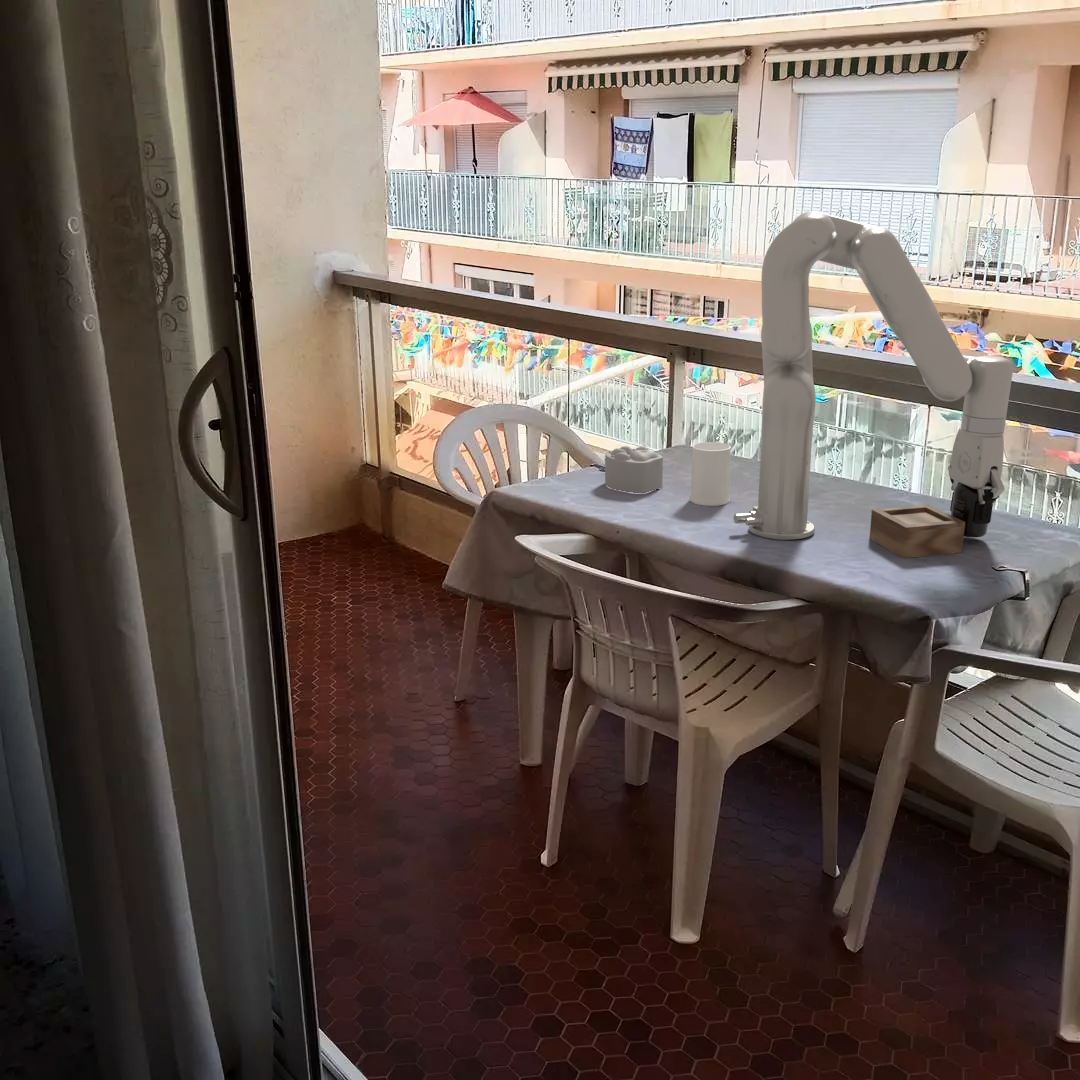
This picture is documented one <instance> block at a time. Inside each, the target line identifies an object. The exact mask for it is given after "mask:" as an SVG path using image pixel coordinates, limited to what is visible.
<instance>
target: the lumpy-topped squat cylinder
mask: <svg viewBox="0 0 1080 1080" xmlns="http://www.w3.org/2000/svg"><path fill="white" fill-rule="evenodd" d="M663 467H664V458H663V455H661V454H659V453H656V452H655V451H653V450H650V449H649V448H648V447H647V446H645V445H641V446H638V447H636V448H631V447H630V446H628V445H624V446H621V447H620V448H618V447H617V448H614V449H613V450H609V451H607V452H606V453H605V455H604V485H605V484H606V485H607V486H608V487H610V488H612V489H616V490H621V491H626V492H633V493H646V492H649V491H652V490H655V489H659V488H661V487H662V488H663V473H664V471H663V470H664V469H663ZM662 488H661V489H662ZM659 490H660V489H659ZM655 491H656V490H655ZM652 492H653V491H652Z"/></svg>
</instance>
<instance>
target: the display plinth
mask: <svg viewBox="0 0 1080 1080" xmlns="http://www.w3.org/2000/svg"><path fill="white" fill-rule="evenodd" d="M964 529H965V522H964V521H962V520H960V519H958V518H955V517H953V516H951V514H950V513H947V512H945V511H944V510H941V509H939V508H936V507H934V506H933V505H930V504H919V505H918V504H917V505H909V506H908V505H905V506H898V507H886V508H885V507H884V508H873V509H871V515H870V528H869V538H868V539H870V540H871V541H873V542H875V543H876V544H879V545H880V546H882V547H883V548H885V549H887V550H888V551H890V552H891V553H894V554H895V555H897V556H898V557H900V558H902V559H908V558H917V557H928V556H929V557H930V556H938V555H939V556H941V555H948V554H959V553H963V547H964V546H963V545H964Z"/></svg>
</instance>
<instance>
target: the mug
mask: <svg viewBox="0 0 1080 1080" xmlns="http://www.w3.org/2000/svg"><path fill="white" fill-rule="evenodd" d="M731 450H732V446H731V445H729V444H728V443H724V442H716V441H712V442H711V441H705V442H703V441H702V442H698V443H697V442H696V443H695V444H693V445H692V450H691V451H692V452H691V453H692V456H691V457H692V459H691V484H690V485H691V489H690V490H691V491H690V496H689V501H690V502H691V503H692V502H693V504H695V505H697V506H698V505H699V506H704V507H705V506H707V507H708V506H709V507H719V506H724V505H727V504H729V503H730V501H731V497H730V480H731V479H730V477H731V456H732V455H731V453H732V451H731Z"/></svg>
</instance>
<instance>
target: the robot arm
mask: <svg viewBox="0 0 1080 1080" xmlns="http://www.w3.org/2000/svg"><path fill="white" fill-rule="evenodd" d="M817 261H820V262H823V263H826V264H827V263H828V264H831V265H835V266H838V267H839V266H840V267H843V268H846V269H852V270H856V272H857V274H858V275H859V277H860V279H861V281H862V283H863V284H864V285H865V287H866V289H867V291H868V292H869V295H870V296H871V297H872V299H873V301H874V303H875V304H876V306H877V308H878V310H879V311H880V313H881V315H882V317H883V319H884V321H885V322H886V324H887V325H888V326H889V328H890V329H891V331H892V333H893V334H894V335H895V337H896V338H897V339H898V340H899V341H900V343H901V344H902V345H903V347H904V348H905V350H906V351H907V353H908V355H909V357H910V358H911V359H912V361H913V363H914V365H915V367H917V368H916V369H918V371H919V373H920V375H921V376H922V382H924V384H925V386H926V387H927V389H928V390H929V392H931V394H932V395H933V396H934V397H935V398H937V399H938V400H940V401H944V402H956V401H958V400H960V399H962V398H963V397H964V399H963V400H964V401H963V407H962V416H961V423H960V427H959V428H958V431H957V433H956V436H955V438H954V442H953V446H952V451H951V456H950V461H949V465H948V466H947V470H948V476H949V479H950V483H951V487H950V489H951V491H952V492H951V500H950V512H951V509H952V502H953V495H954V489H955V487H956V486H957V485H958V484H959V483H961V484H964V485H966V486H968V487H970V488H973V489H977V491H978V498H979V503H976V508H975V515H974V523H975V524H987V523H988V524H990V523H991V521H992V514H993V513H992V512H993V507H994V504H996V502H997V499H998V498H1000V496H1001V494H1003V492H1005V489H1006V488H1005V485H1004V484H1003V482H1002V479H1001V478H1002V474H1003V473H1002V472H1003V467H1004V466H1003V464H1004V450H1005V448H1004V447H1005V445H1004V434H1005V427H1006V421H1007V415H1008V414H1007V413H1008V408H1009V407H1008V406H1009V400H1010V392H1011V387H1012V381H1013V373H1014V364H1013V362H1012V361H1011V359H1009V358H1006V357H1001V356H993V355H979V356H971V355H964V354H962V353H961V351H960V349H959V347H958V345H957V344H956V342H955V340H954V339H953V337H952V335H951V334H950V332H949V330H948V328H947V327H946V325H945V323H944V322H943V319H942V318H941V316H940V313H939V311H938V309H937V307H936V305H935V303H934V301H933V300H932V298H931V296H930V294H929V292H928V291H927V289H926V287H925V285H924V284H923V282H922V281H921V278H920V276H919V275H918V273H917V272H916V270H915V268H914V267H913V265H912V263H911V261H910V259H909V258H908V256H907V255H906V253H905V251H904V249H903V247H902V246H901V244H900V242H899V240H898V239H897V237H896V236H895V234H893V233H892V231H890V230H888V229H886V228H884V227H883V226H882V227H881V226H878V225H872V224H867V223H863V222H859V221H854V220H850V219H847V218H843V217H839V216H835V215H831V214H828V213H824V212H821V211H815V210H810V211H807V212H803V213H802V214H799V215H798V216H797V217H796V218H794V220H792V222H790V224H788V225H787V226H786V227H784V228H783V229H782V230H781V231H780V232H779V233H778V234H777V235H776V236H775V237H774V238H773V240H772V241H771V243H770V244H769V246H768V248H767V250H766V253H765V256H764V259H763V262H762V267H761V268H762V269H761V314H762V315H761V316H762V318H761V321H762V325H761V331H760V340H761V355H762V371H763V372H762V373H763V393H762V407H761V408H762V410H761V411H762V414H761V435H760V436H761V437H760V460H759V475H758V476H759V477H758V478H759V480H758V481H759V482H758V497H757V498H758V501H757V505H755V506H752V510H750V511H748V513H747V512H745V513H744V512H742V513H734V514H733V522H734V524H745V525H746V526H748V530H749V531H750V532H751V533H752V534H753V535H756V536H758V537H761V538H765V539H770V540H771V539H772V540H782V541H783V540H786V541H791V540H801V539H805V538H809V537H811V536H812V535H814V534H815V530H816V529H815V525H814V524H813V523H812V522H810V521H809V520H808V513H809V512H808V510H809V496H810V495H809V493H810V482H811V480H810V479H811V478H810V477H811V464H812V447H813V433H814V432H813V431H814V423H815V422H814V421H815V412H816V397H817V396H816V395H817V394H816V388H815V383H814V371H813V370H814V367H813V366H814V365H813V343H812V342H813V341H812V340H813V328H812V327H813V326H812V323H811V318H810V302H809V301H810V300H809V298H810V297H809V296H810V295H809V294H810V290H809V289H810V288H809V287H810V286H809V283H810V279H809V278H810V273H811V271H812V268H813V266H814V264H815V263H816V262H817ZM985 484H987V486H985ZM984 490H988V493H987V494H986V495H984Z"/></svg>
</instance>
